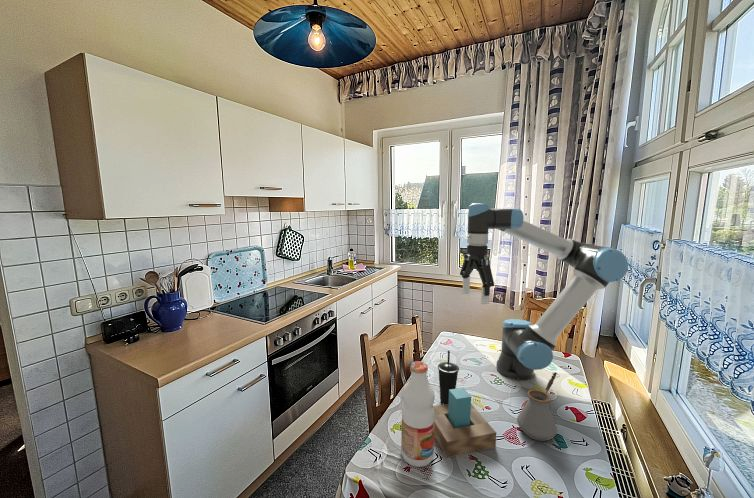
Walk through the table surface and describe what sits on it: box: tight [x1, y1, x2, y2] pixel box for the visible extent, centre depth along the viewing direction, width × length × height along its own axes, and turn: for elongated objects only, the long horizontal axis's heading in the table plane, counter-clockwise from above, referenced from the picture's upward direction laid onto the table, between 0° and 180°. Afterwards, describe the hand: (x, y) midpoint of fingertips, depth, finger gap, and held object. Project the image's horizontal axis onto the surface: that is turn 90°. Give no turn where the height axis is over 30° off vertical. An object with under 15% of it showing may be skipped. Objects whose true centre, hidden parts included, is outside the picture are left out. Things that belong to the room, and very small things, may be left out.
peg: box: [448, 387, 472, 429], centre depth 98 cm, size 5×5×14 cm
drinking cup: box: [437, 350, 460, 405], centre depth 114 cm, size 8×8×20 cm
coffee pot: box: [516, 371, 560, 442], centre depth 102 cm, size 21×12×15 cm, turn 132°
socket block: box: [433, 403, 497, 458], centre depth 99 cm, size 16×16×5 cm
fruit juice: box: [400, 360, 435, 468], centre depth 89 cm, size 9×9×28 cm
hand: (474, 298), depth 121 cm, fingers open, 13 cm apart
